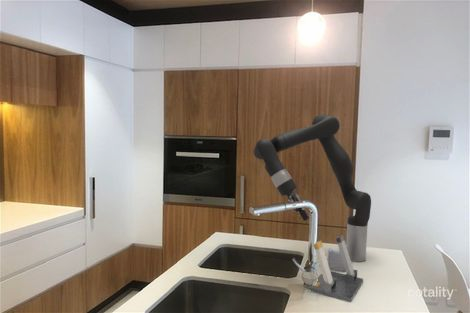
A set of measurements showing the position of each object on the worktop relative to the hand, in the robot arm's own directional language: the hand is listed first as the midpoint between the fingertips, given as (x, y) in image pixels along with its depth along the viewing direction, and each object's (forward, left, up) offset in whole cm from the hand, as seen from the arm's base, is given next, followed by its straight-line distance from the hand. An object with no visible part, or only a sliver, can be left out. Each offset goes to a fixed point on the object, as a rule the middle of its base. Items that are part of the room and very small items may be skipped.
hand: (306, 219), depth 142 cm
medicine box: (-23, +7, -27) cm, 36 cm away
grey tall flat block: (-12, +16, -25) cm, 32 cm away
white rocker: (+1, +11, -25) cm, 27 cm away
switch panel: (-5, +12, -27) cm, 30 cm away
